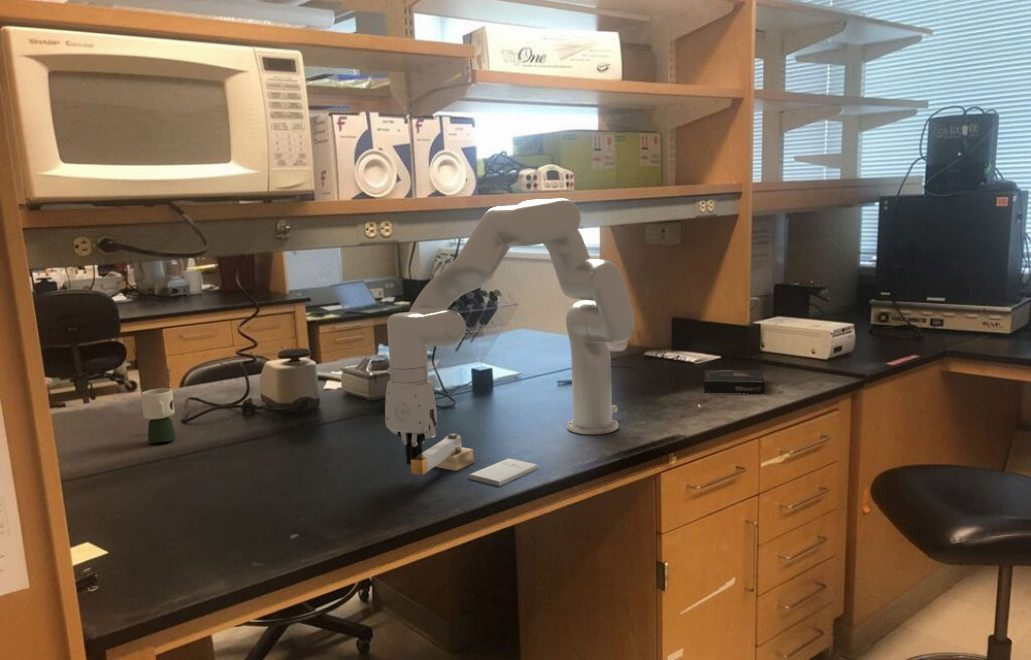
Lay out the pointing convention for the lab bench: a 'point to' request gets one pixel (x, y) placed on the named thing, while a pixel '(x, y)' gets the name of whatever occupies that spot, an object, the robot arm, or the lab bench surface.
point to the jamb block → (458, 460)
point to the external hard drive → (503, 472)
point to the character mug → (159, 414)
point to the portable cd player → (734, 381)
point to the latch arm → (436, 454)
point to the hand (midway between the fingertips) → (414, 462)
